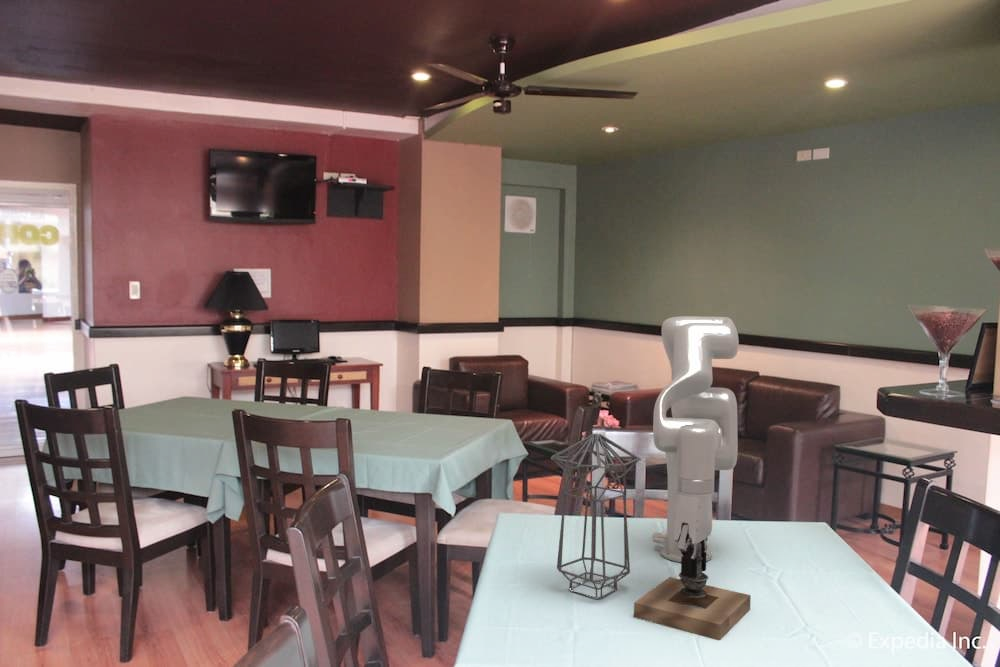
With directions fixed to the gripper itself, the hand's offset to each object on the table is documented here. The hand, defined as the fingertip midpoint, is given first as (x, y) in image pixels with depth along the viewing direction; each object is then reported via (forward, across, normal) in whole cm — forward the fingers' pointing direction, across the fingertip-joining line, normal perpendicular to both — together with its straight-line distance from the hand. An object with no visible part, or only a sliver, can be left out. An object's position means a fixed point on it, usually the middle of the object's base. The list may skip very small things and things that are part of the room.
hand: (693, 572), depth 164 cm
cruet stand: (+9, 0, 0) cm, 9 cm away
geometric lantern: (+9, 0, -23) cm, 25 cm away
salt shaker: (+5, 0, 0) cm, 5 cm away
